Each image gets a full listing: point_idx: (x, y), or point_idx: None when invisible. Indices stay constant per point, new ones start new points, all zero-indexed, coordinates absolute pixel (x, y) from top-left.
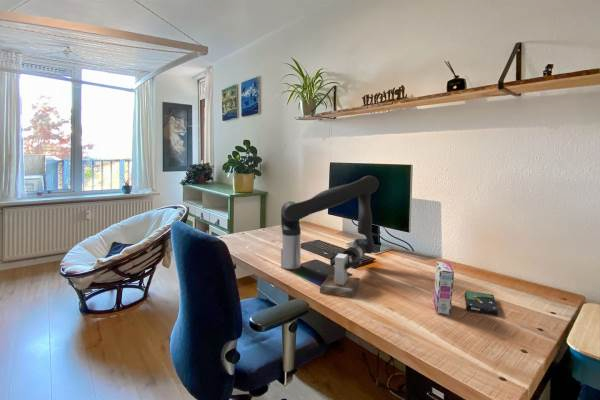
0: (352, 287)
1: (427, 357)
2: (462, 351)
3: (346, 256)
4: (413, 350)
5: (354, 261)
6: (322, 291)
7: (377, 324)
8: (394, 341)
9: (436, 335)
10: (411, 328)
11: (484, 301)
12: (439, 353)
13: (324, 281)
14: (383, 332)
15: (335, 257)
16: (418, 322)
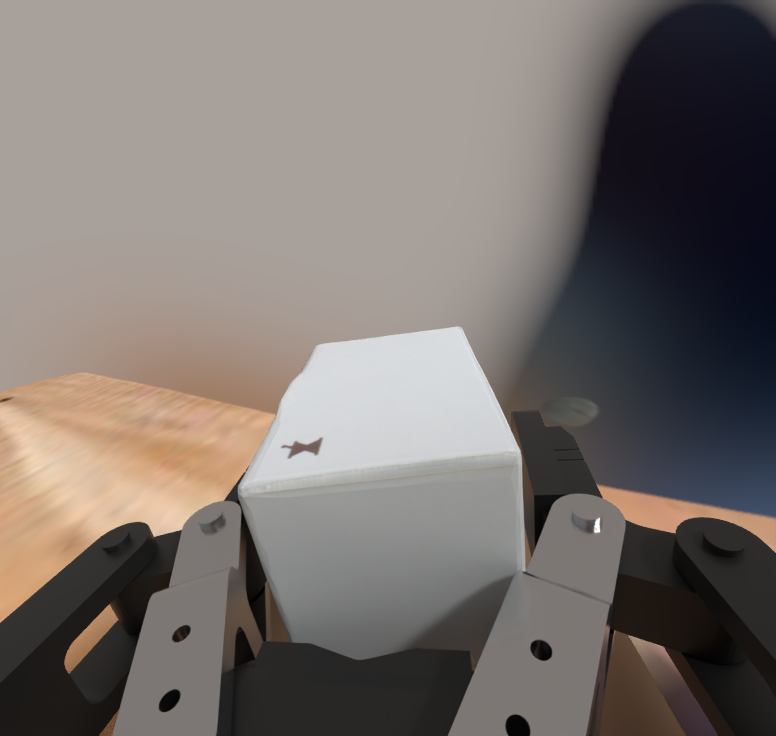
0: (282, 635)
1: (125, 389)
2: (6, 427)
3: (276, 428)
4: (146, 393)
5: (128, 548)
6: None
7: (204, 428)
8: (180, 397)
9: (17, 453)
10: (82, 452)
11: None
12: (82, 405)
13: (636, 652)
14: (198, 409)
15: (451, 329)
16: (16, 490)
